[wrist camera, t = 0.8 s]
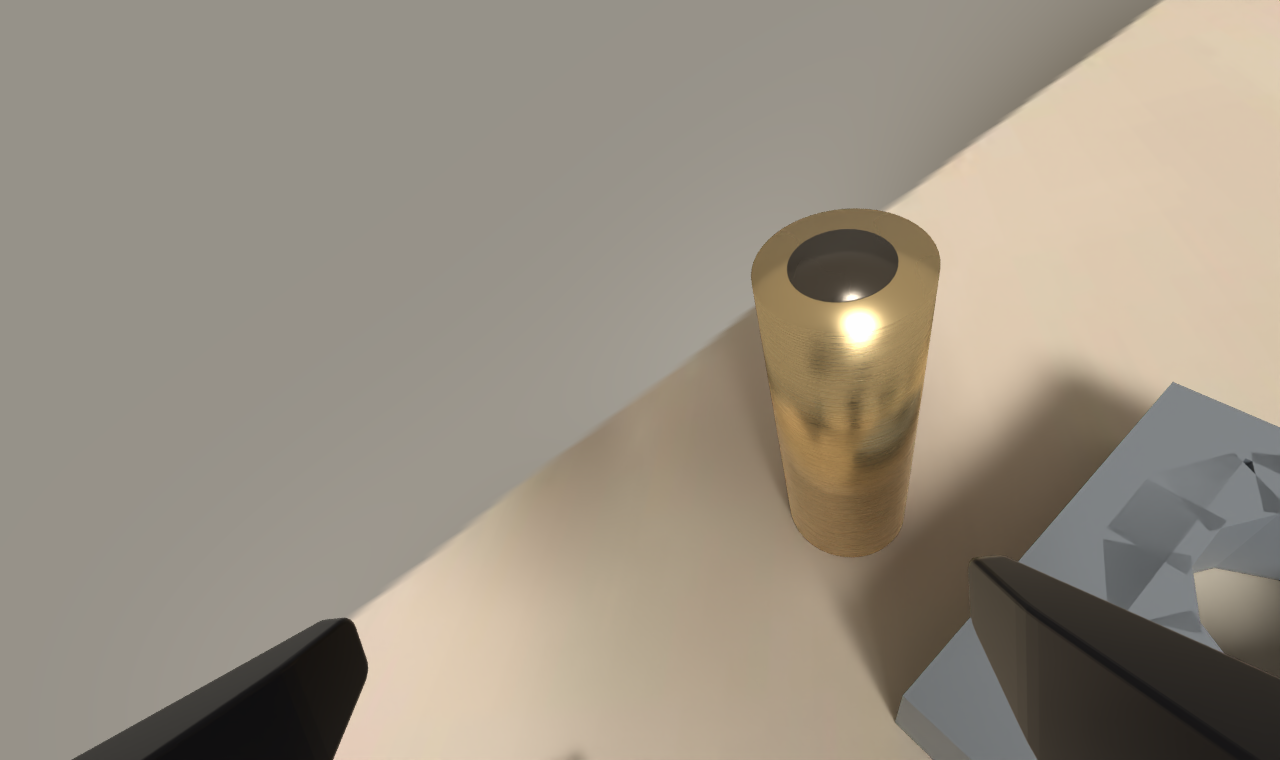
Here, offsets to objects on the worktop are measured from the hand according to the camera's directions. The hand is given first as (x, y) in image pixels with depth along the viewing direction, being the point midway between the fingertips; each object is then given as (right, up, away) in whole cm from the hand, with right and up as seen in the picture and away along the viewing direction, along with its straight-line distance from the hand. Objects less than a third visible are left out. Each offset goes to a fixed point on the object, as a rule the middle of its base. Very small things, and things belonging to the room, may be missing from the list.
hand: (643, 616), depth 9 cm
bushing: (+8, -2, +16) cm, 18 cm away
